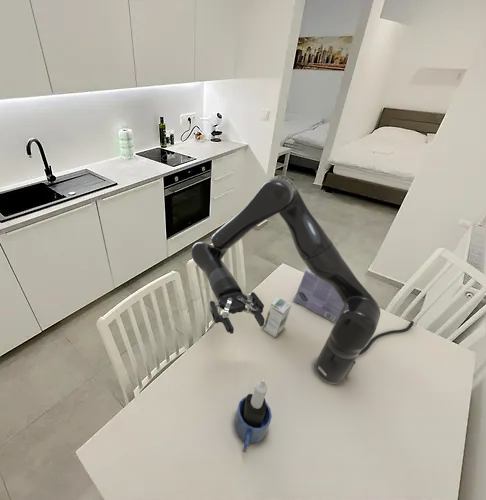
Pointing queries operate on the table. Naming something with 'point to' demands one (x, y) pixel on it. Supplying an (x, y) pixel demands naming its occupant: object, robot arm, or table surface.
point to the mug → (248, 432)
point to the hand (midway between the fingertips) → (247, 328)
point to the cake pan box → (319, 297)
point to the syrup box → (277, 316)
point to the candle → (255, 406)
